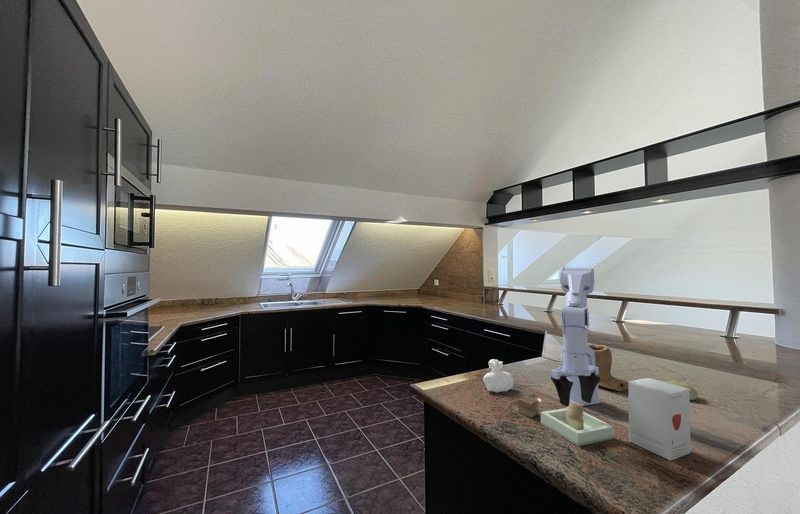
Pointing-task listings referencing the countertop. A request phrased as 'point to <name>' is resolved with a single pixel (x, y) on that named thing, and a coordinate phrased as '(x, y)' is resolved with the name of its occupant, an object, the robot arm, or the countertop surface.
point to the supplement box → (659, 417)
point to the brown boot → (607, 369)
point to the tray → (590, 434)
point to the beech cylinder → (575, 416)
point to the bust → (497, 378)
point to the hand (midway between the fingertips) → (575, 403)
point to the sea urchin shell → (691, 390)
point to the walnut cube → (528, 406)
